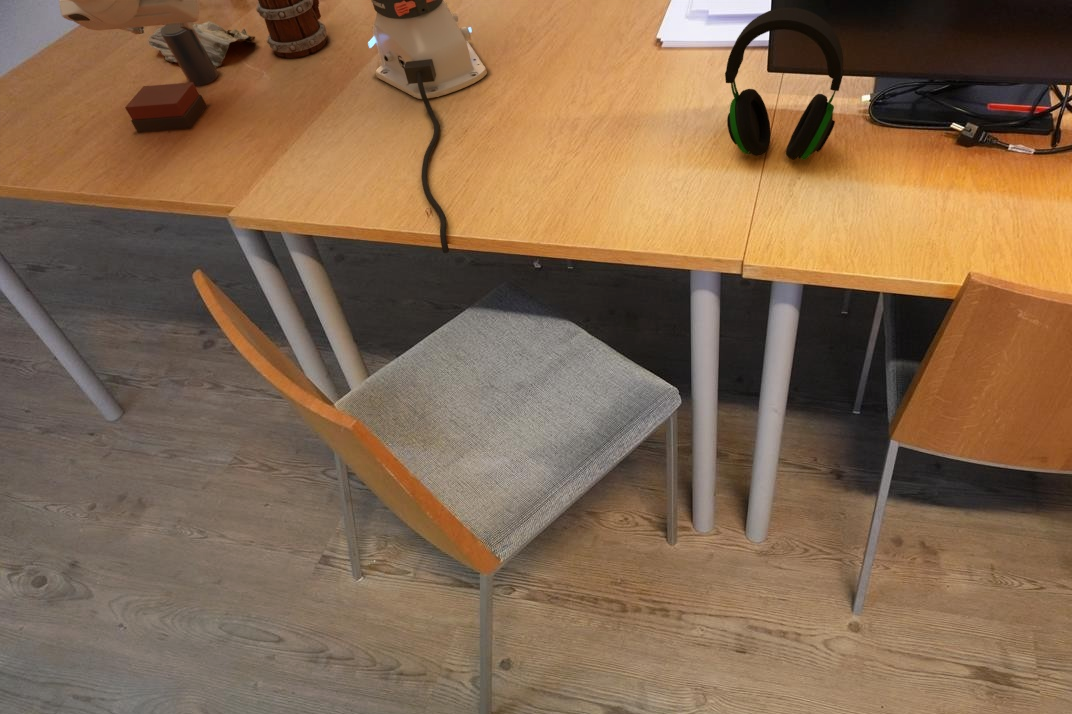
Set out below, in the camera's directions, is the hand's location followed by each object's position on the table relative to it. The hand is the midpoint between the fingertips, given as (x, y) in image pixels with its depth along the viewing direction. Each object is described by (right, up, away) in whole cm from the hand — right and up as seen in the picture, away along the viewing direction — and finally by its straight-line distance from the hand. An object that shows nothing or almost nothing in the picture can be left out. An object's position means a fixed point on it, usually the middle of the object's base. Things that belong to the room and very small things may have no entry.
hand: (164, 27), depth 138 cm
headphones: (+104, -30, -24) cm, 111 cm away
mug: (+18, +6, +18) cm, 26 cm away
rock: (-2, +5, +21) cm, 21 cm away
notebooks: (+1, -16, +2) cm, 16 cm away
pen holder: (+1, -4, +11) cm, 12 cm away
